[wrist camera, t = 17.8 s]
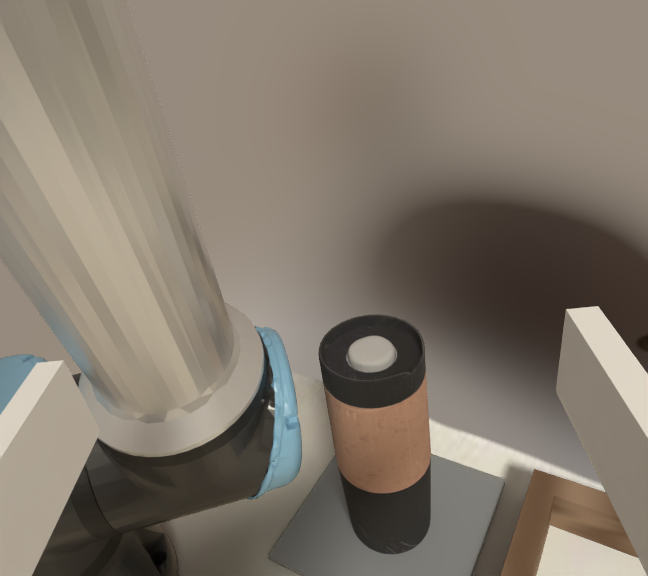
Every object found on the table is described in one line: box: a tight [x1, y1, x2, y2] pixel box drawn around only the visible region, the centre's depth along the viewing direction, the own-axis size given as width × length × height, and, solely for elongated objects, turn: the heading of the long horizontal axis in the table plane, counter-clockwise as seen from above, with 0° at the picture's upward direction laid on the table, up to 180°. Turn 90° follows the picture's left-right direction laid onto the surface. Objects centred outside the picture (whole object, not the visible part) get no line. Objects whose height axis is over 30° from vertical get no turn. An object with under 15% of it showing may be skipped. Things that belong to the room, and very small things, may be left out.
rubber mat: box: [269, 454, 505, 576], centre depth 49 cm, size 16×16×1 cm
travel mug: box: [319, 315, 431, 554], centre depth 43 cm, size 8×8×20 cm
